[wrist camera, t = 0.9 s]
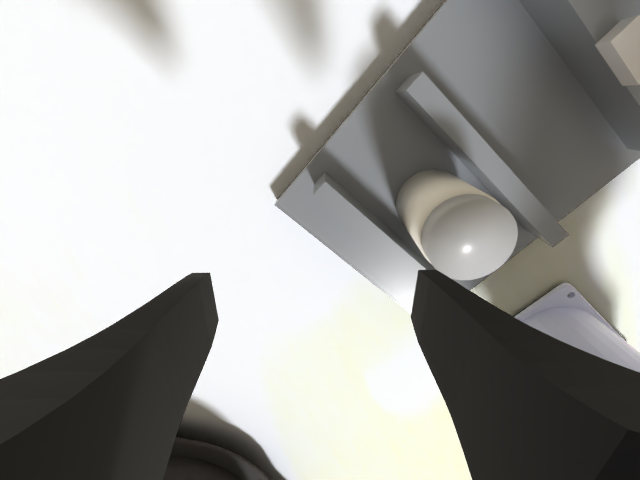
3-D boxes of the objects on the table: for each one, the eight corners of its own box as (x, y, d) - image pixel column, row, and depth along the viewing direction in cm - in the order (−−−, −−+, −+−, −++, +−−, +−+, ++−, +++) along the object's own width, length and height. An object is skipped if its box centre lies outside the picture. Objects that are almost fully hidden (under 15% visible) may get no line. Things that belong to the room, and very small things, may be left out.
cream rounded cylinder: (476, 199, 19) (539, 239, 13) (425, 243, 20) (464, 297, 14) (432, 154, 18) (481, 177, 12) (382, 204, 19) (406, 246, 13)
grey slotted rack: (818, 0, 15) (1029, -44, 11) (421, 316, 23) (444, 368, 19) (695, -296, 12) (934, -554, 7) (276, 200, 20) (262, 228, 15)
